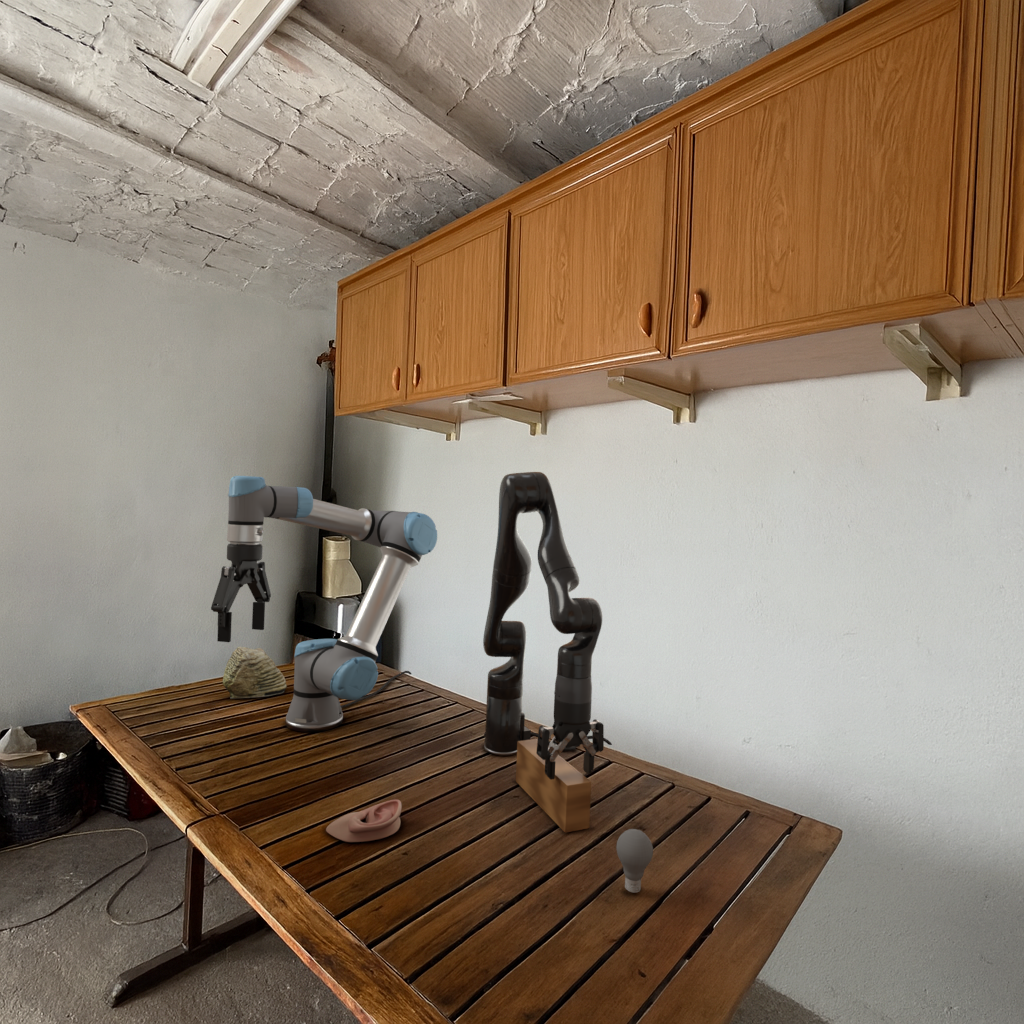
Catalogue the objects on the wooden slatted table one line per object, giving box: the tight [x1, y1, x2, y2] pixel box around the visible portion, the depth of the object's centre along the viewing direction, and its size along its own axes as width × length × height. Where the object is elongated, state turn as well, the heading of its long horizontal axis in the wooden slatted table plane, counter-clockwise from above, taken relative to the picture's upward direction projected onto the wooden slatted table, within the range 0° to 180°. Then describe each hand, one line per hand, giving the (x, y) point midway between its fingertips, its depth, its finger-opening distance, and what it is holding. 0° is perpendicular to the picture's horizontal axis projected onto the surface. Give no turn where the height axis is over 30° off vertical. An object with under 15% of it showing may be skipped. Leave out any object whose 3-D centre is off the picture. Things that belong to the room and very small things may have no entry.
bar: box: [515, 738, 592, 834], centre depth 135 cm, size 24×6×9 cm, turn 24°
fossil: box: [222, 646, 288, 699], centre depth 198 cm, size 9×18×15 cm, turn 132°
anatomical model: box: [325, 799, 403, 843], centre depth 122 cm, size 13×4×12 cm
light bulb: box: [615, 828, 654, 894], centre depth 106 cm, size 6×6×10 cm
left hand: (241, 635), depth 146 cm, fingers open, 13 cm apart
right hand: (569, 775), depth 129 cm, fingers open, 8 cm apart
